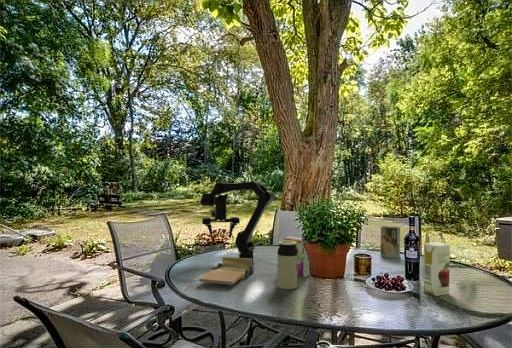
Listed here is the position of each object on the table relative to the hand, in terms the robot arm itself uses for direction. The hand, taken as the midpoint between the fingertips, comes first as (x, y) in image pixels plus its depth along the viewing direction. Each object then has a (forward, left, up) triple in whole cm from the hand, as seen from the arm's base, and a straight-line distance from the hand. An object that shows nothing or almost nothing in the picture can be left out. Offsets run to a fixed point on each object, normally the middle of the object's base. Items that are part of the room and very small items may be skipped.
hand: (220, 237), depth 194 cm
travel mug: (-21, +48, -12) cm, 54 cm away
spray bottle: (-30, +32, -12) cm, 46 cm away
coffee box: (-92, +7, -12) cm, 93 cm away
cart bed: (-2, +26, -12) cm, 29 cm away
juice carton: (-75, +66, -12) cm, 101 cm away
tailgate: (+1, +32, -10) cm, 33 cm away
